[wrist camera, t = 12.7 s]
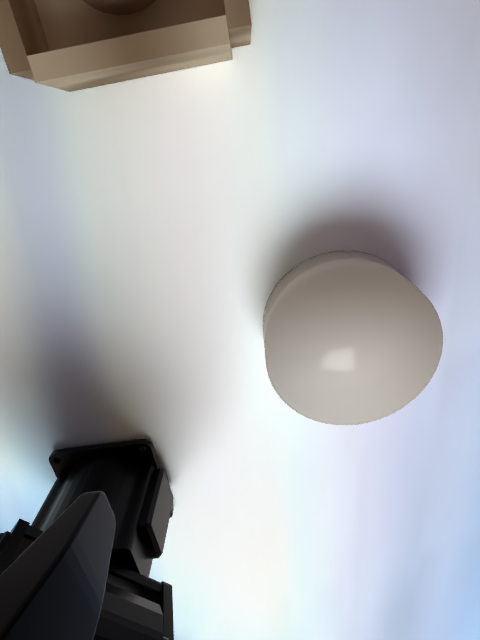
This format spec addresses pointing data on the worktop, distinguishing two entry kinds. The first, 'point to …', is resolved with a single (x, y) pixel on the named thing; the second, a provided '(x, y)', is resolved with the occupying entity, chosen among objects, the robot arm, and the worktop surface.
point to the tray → (117, 39)
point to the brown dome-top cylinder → (119, 6)
